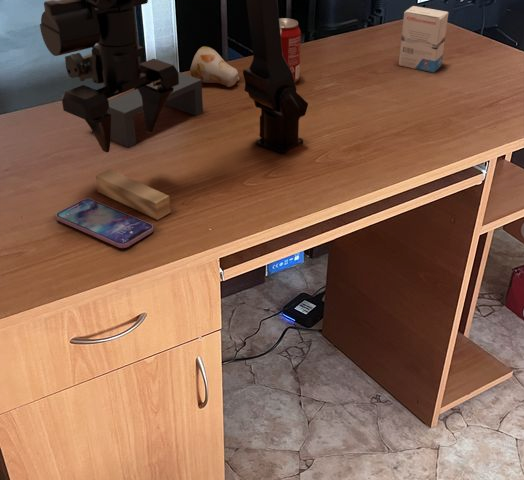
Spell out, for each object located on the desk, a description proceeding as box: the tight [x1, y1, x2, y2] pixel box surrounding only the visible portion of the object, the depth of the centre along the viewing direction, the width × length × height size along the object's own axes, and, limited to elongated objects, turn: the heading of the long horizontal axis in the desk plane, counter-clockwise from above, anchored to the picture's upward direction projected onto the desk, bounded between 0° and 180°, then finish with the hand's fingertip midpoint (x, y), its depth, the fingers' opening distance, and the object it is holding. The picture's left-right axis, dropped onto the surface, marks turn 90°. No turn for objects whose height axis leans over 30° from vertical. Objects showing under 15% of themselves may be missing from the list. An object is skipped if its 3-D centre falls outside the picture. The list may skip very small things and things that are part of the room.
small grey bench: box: [91, 71, 204, 148], centre depth 149 cm, size 10×20×7 cm, turn 141°
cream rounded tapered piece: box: [189, 46, 240, 88], centre depth 164 cm, size 8×10×10 cm
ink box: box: [398, 5, 449, 73], centre depth 170 cm, size 9×5×12 cm, turn 58°
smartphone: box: [55, 198, 154, 249], centre depth 122 cm, size 7×1×15 cm
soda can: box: [279, 17, 302, 83], centre depth 163 cm, size 7×7×12 cm
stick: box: [95, 168, 171, 221], centre depth 127 cm, size 14×3×3 cm, turn 51°
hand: (128, 141), depth 123 cm, fingers open, 9 cm apart
